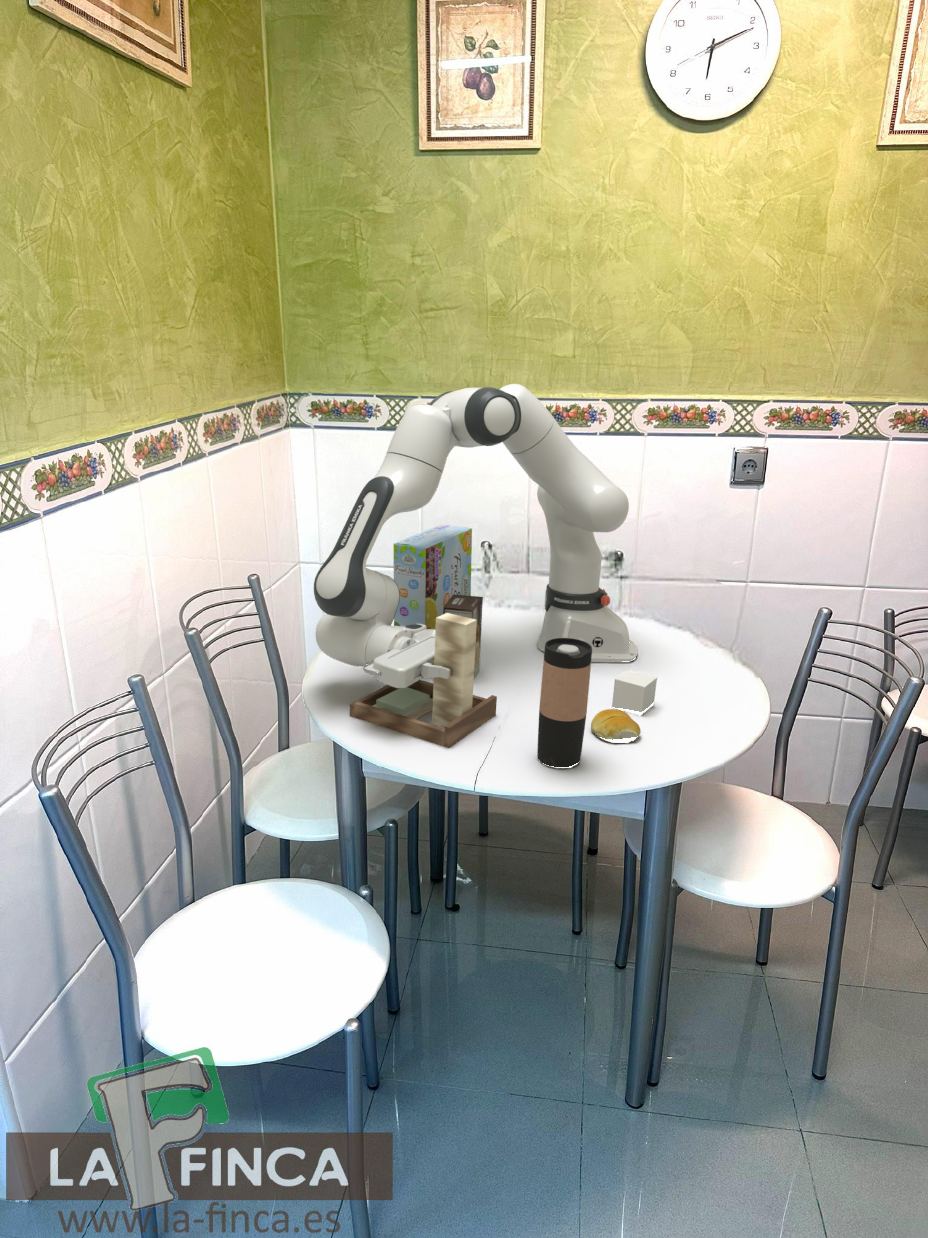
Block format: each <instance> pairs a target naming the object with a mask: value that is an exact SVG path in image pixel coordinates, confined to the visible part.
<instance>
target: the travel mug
mask: <svg viewBox="0 0 928 1238" xmlns="http://www.w3.org/2000/svg"><path fill="white" fill-rule="evenodd" d="M543 653H544V654H543V665H542V675H541V676H542V677H541V683H540V686H541V687H540V696H539V697H540V698H539V710H538V730H537V732H538V733H537V752H536V753H537V757H538V758H537V757H536V758H537V760H538V759H539V760H540V761H541V762H542V763H544V764H546V765H549V766H554V767H569V766H572V765H574V764H576V763H578V762H579V761H580V762H581V759H582V751H583V742H584V736H585V729H586V728H585V727H586V721H587V713H588V712H587V711H588V703H589V702H588V701H589V691H590V689H589V688H590V677H591V668H592V667H591V665H592V662H591V658H592V647H591V645H590V644H588V643H587V642H584V641H581V640H578V639H572V638H555V639H551V640H549V641H547V642H546V644H545V650H544V652H543ZM539 760H538V761H539ZM542 763H541V764H542Z"/></svg>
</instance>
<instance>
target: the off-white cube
mask: <svg viewBox="0 0 928 1238" xmlns="http://www.w3.org/2000/svg"><path fill="white" fill-rule="evenodd" d="M657 681H658V677H656V676H653V675H648V674H646V673H641V672H638V671H634V670H631V669H627V670H626V671H624V672H623V673H621V674H620V675H618V676H617V677H615V679H614V685H613V693H612V703H611V708H612V707H615V708H623V709H629V710H634V711H639V712H642V711H644V710H645V709H646V708H648V707H649V706H650V705H651V704H652V703H653V702H654V703H655V697H656V689H657Z"/></svg>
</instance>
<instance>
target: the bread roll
mask: <svg viewBox="0 0 928 1238" xmlns="http://www.w3.org/2000/svg"><path fill="white" fill-rule="evenodd" d="M590 729H591V732H592V734H594V733H595V736H596V735H597V736H598V737H602V738H605V739H612V740H613V739H623V738H631V737H637V736H639V737H640V735H641V727H640V725H639V723H637V722H636V721H635V720H634V719H633V718H632V717H631V716H630V715H629V714H628V712H625V711H621V710H618V709H614V708H609V709H603V710H601V711H599V712H598V713H596V714H595V715H594V717H593V718H592V720H591V724H590ZM597 736H596V737H597ZM598 737H597V738H598Z"/></svg>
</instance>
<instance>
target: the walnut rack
mask: <svg viewBox="0 0 928 1238" xmlns="http://www.w3.org/2000/svg"><path fill="white" fill-rule="evenodd" d="M433 685H434V682H433V683H432V682H429V681H427V680H422V679H420V680H419V681H417V682H415V683H413V684H411V685H410V686H408V688H411V689H414V690H417V691H420V692H422V693H425V694H428V695H430V696H429V698H432V699H433ZM397 689H399V688H395V687H392V686H389V685H387V684H385V685H384V686H382V687H380V688H378V689H376V690H375V691H372V692H371V693H369V694H367V695H365V696H364V697H361V698H360V699H358V700H356V701H354V702H352V703H350V704H349V717H352V718H355V719H358V720H360V721H364V722H367V723H371V724H373V725H376V726H379V727H382V728H385V729H388V730H391V731H394V732H397V733H400V734H403V735H407V736H410V737H413V738H417V739H419V740H422V741H424V742H425V741H426V742H428V743H431V744H434V745H435V744H436V745H438V746H441V747H444V748H447V749H451V748H452V747H453V746H454V745H457V743H459V742H460V741H462V740H463V739H464V738H466V737H467V736H468V735H470V734H471V733H473V732H474V731H475V730H477V729H479V728H480V727H482V725H483V726H484V724H486V723H487V722H489V721H490V720H491V719H492V718H494V717H496V715H497V702H498V701H497V700H498V696H496V695H494V694H493V695H490V696H488V697H487V698H485V697H482V696H479V695H475V694H473V701H472V709H470V710H469V711H467V712H466V713H464V714H463V715H461V716H460V717H458V718H457V719H455V720H454V721H452V722H451V723H449V724H448V725H446V726H445V727H442V726H438V725H435V724H432V723H428V722H424V721H421V720H419V719H416V720H415V719H412V718H409V717H406V716H402V715H399V714H396V713H393V712H390V711H386V710H383V709H380V708H377V707H374V706H373V705H375V704H376V700H377V699H379V698H381V697H383V696H385V695H387V694H389V693H391V692H393V691H395V690H397Z"/></svg>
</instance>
